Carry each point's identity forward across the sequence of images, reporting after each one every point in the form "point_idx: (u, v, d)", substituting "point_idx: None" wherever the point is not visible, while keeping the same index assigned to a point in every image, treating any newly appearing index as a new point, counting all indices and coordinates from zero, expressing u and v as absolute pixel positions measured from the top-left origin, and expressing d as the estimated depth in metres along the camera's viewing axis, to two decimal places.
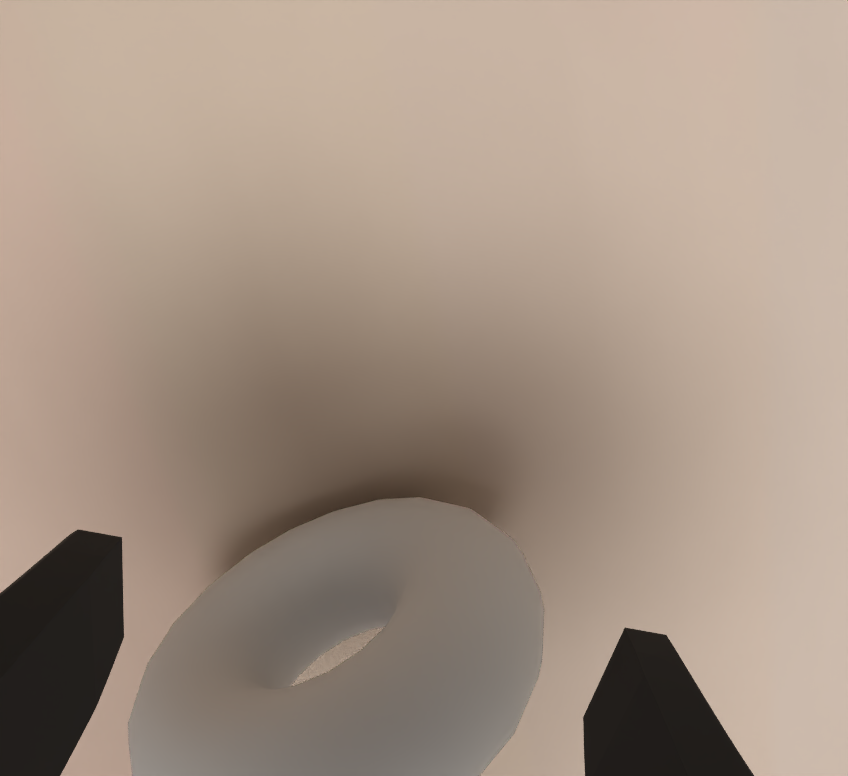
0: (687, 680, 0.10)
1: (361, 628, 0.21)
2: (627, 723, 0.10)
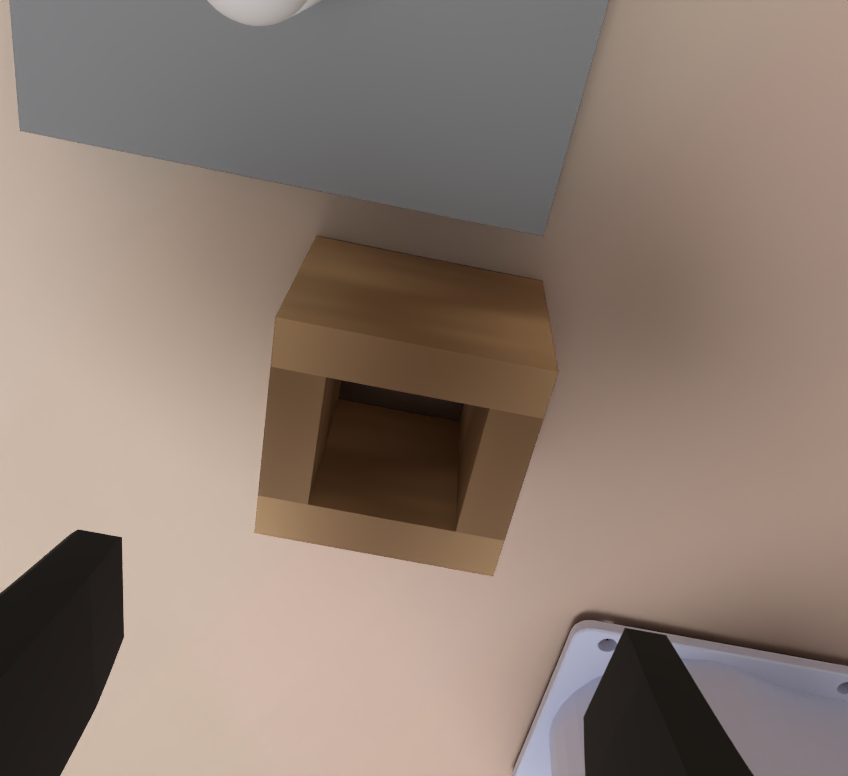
0: (687, 681, 0.10)
1: None
2: (627, 723, 0.10)
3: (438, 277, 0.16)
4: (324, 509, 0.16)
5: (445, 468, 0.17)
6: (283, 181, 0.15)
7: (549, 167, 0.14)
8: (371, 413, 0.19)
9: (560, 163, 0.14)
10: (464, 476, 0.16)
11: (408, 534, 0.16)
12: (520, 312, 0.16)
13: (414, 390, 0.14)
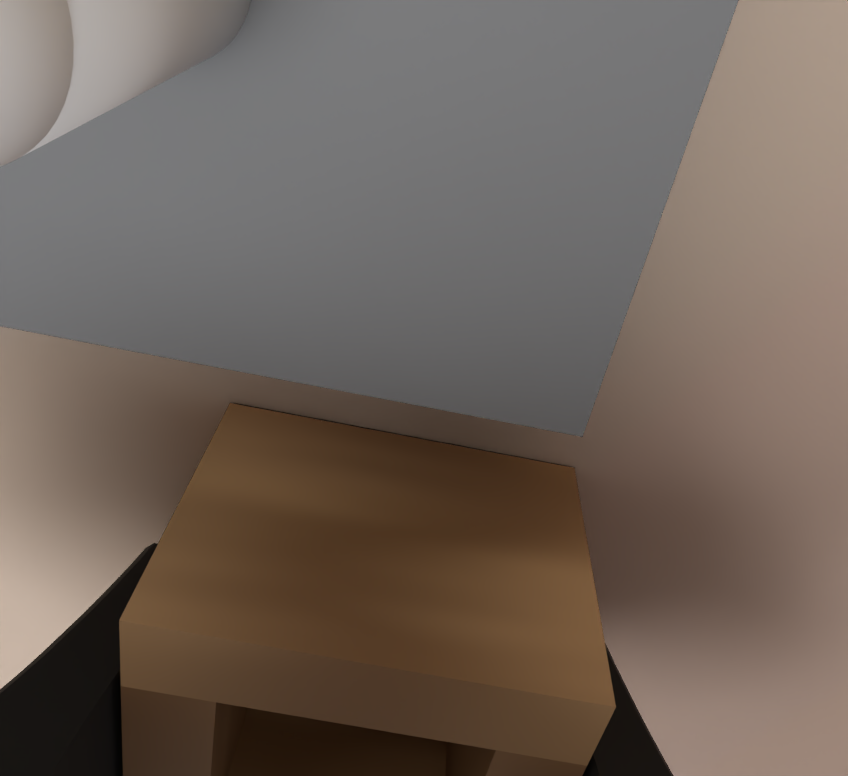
0: None
1: None
2: None
3: (414, 478, 0.10)
4: None
5: (427, 744, 0.12)
6: (154, 352, 0.09)
7: (596, 336, 0.09)
8: None
9: (615, 331, 0.08)
10: None
11: None
12: (544, 548, 0.10)
13: (367, 717, 0.08)
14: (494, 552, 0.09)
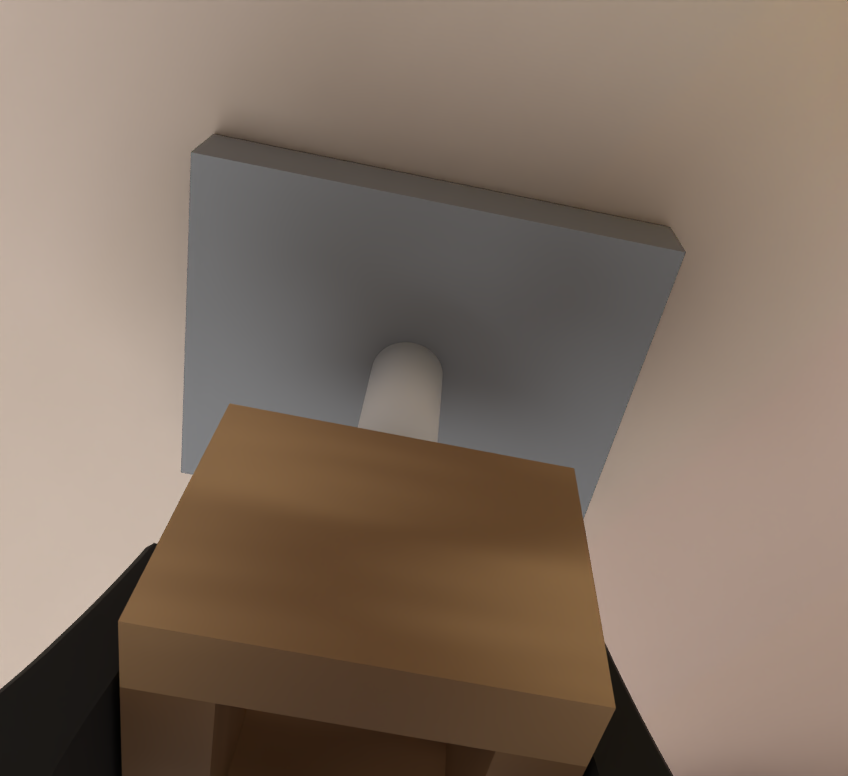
0: None
1: None
2: None
3: (414, 478, 0.10)
4: None
5: (426, 744, 0.12)
6: None
7: None
8: None
9: (587, 502, 0.19)
10: None
11: None
12: (543, 549, 0.10)
13: (366, 718, 0.08)
14: (494, 553, 0.09)
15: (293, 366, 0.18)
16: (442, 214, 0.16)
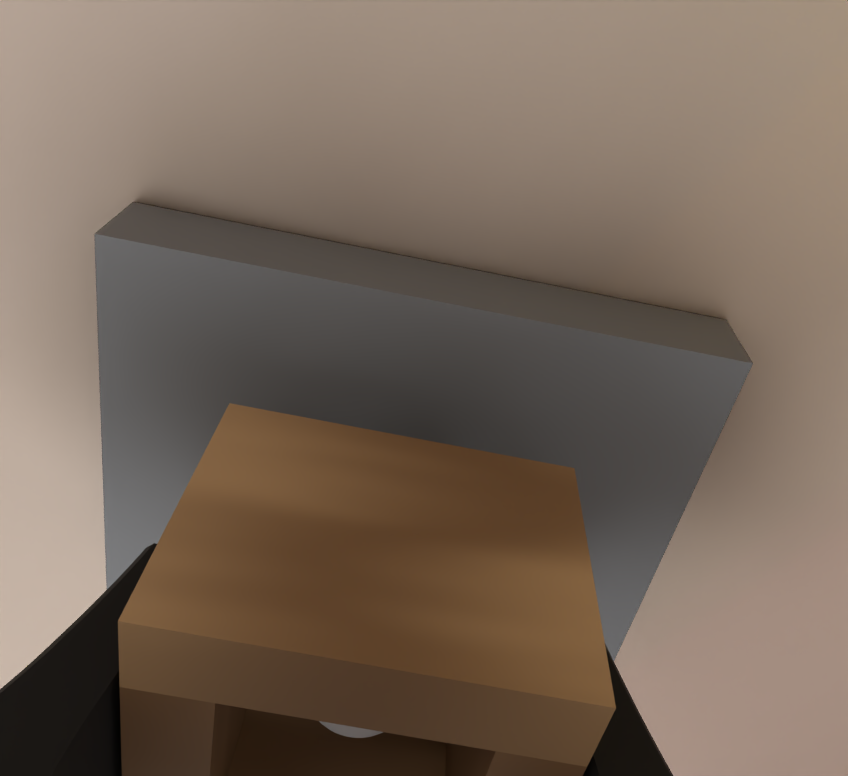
0: None
1: None
2: None
3: (414, 478, 0.10)
4: None
5: (426, 744, 0.12)
6: None
7: None
8: None
9: (615, 651, 0.15)
10: None
11: None
12: (543, 549, 0.10)
13: (366, 718, 0.08)
14: (494, 552, 0.09)
15: None
16: (430, 313, 0.12)
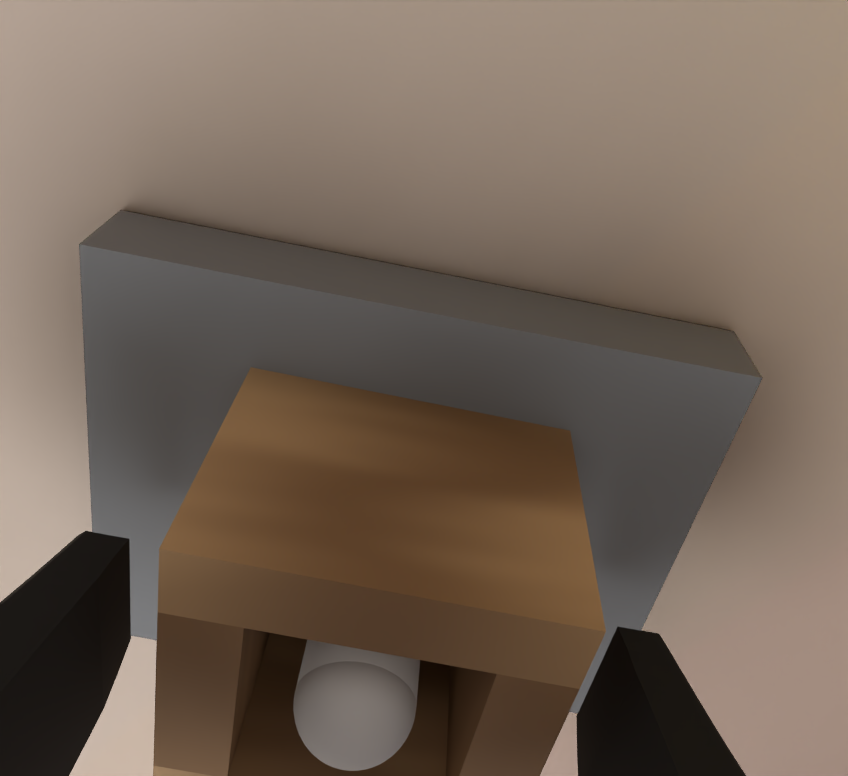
0: (679, 679, 0.10)
1: None
2: (619, 722, 0.10)
3: (422, 436, 0.11)
4: None
5: (431, 687, 0.12)
6: None
7: None
8: None
9: None
10: (457, 729, 0.11)
11: None
12: (541, 498, 0.11)
13: (380, 644, 0.09)
14: (496, 501, 0.10)
15: None
16: (428, 326, 0.11)
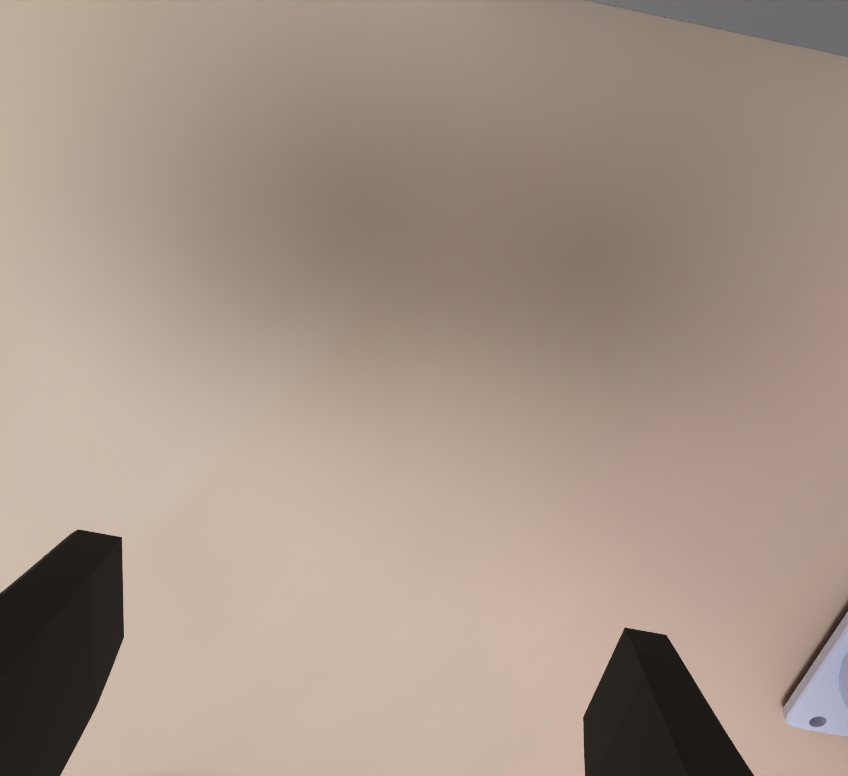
0: (686, 679, 0.10)
1: None
2: (627, 723, 0.10)
3: None
4: None
5: None
6: (757, 33, 0.14)
7: None
8: None
9: None
10: None
11: None
12: None
13: None
14: None
15: None
16: None
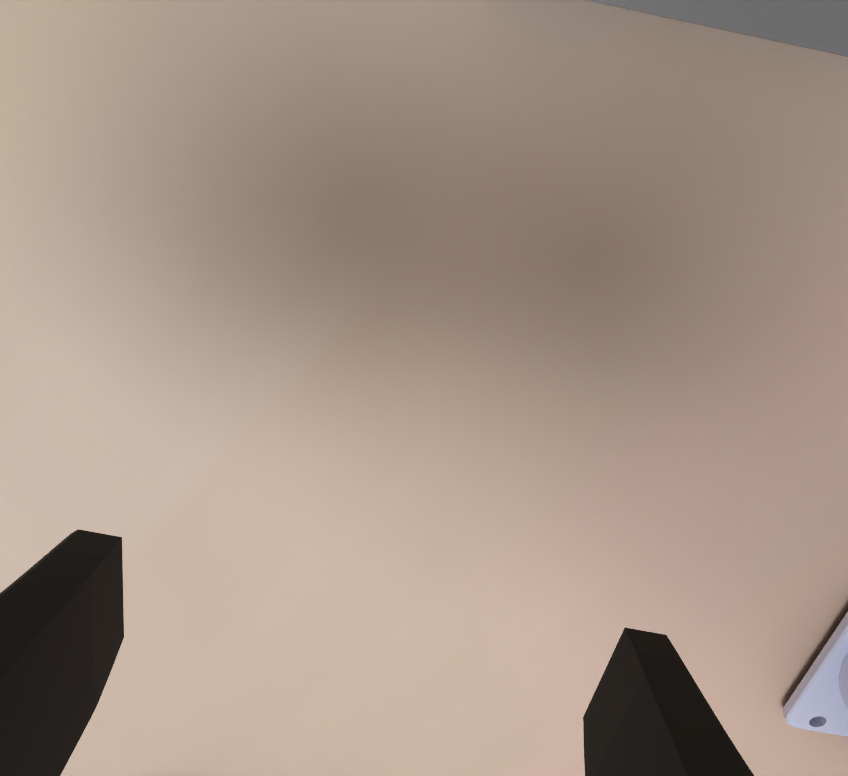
0: (687, 681, 0.10)
1: None
2: (627, 723, 0.10)
3: None
4: None
5: None
6: (757, 33, 0.14)
7: None
8: None
9: None
10: None
11: None
12: None
13: None
14: None
15: None
16: None
